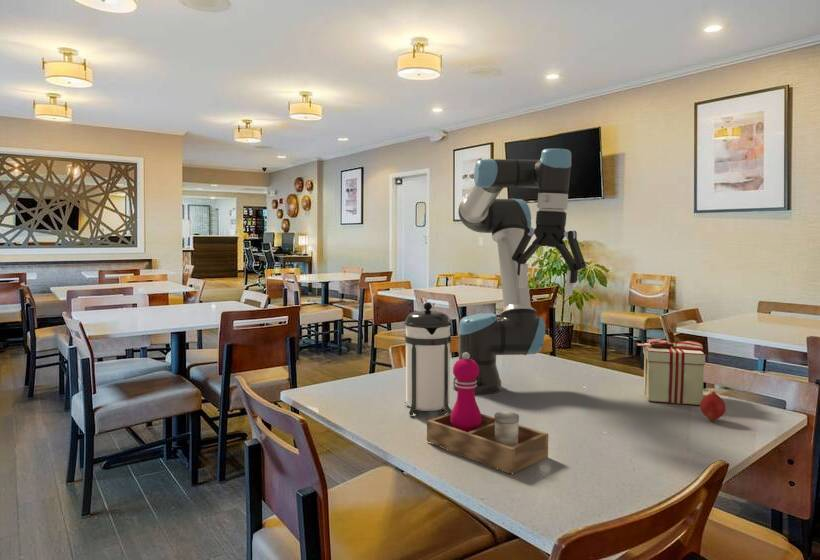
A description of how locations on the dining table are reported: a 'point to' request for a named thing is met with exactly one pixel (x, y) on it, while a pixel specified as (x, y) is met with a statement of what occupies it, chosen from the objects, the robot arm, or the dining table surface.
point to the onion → (712, 406)
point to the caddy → (492, 441)
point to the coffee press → (427, 360)
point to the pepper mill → (466, 395)
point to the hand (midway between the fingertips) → (544, 291)
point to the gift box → (673, 371)
